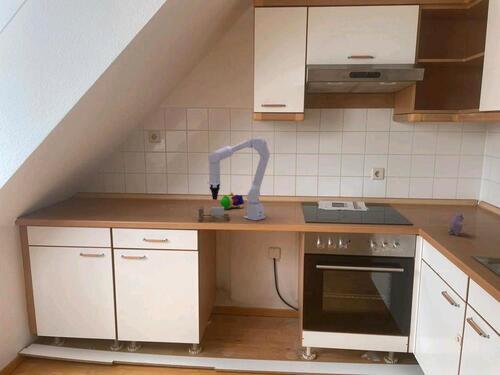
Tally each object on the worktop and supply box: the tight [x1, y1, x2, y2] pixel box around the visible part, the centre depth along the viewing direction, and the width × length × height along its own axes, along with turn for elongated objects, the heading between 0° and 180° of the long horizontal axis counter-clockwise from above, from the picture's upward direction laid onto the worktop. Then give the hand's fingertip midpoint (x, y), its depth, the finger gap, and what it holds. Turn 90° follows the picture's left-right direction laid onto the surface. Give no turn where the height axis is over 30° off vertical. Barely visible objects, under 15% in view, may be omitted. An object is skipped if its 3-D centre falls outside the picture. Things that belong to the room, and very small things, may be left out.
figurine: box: [447, 212, 467, 237], centre depth 173 cm, size 12×6×10 cm, turn 170°
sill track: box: [198, 205, 230, 223], centre depth 199 cm, size 16×7×7 cm, turn 93°
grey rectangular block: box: [210, 206, 225, 216], centre depth 199 cm, size 7×2×6 cm, turn 93°
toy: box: [220, 192, 245, 210], centre depth 227 cm, size 12×9×15 cm
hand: (215, 198), depth 205 cm, fingers open, 7 cm apart
